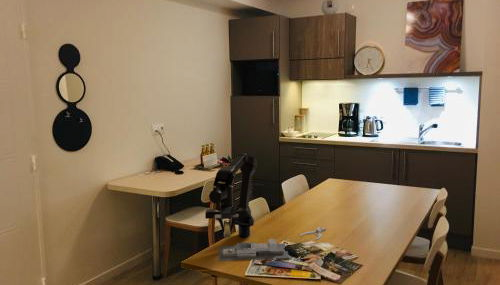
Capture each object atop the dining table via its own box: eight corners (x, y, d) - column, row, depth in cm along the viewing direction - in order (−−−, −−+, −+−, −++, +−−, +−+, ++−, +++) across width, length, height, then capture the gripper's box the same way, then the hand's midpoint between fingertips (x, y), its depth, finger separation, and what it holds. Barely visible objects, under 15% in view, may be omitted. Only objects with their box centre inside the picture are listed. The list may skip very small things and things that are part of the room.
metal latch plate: (236, 246, 181) (236, 239, 181) (275, 244, 182) (274, 238, 181) (237, 253, 173) (236, 246, 173) (277, 252, 174) (276, 244, 174)
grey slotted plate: (223, 251, 181) (223, 246, 181) (281, 248, 182) (281, 244, 182) (223, 258, 173) (223, 253, 173) (284, 255, 174) (284, 251, 174)
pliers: (299, 233, 200) (314, 225, 211) (299, 236, 200) (314, 228, 211) (316, 237, 193) (331, 228, 205) (316, 240, 194) (331, 231, 205)
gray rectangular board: (219, 247, 187) (219, 246, 187) (284, 245, 188) (284, 243, 188) (218, 262, 171) (218, 260, 171) (289, 259, 173) (289, 257, 172)
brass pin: (223, 235, 184) (223, 220, 183) (230, 234, 185) (229, 219, 184) (224, 237, 181) (224, 222, 181) (231, 236, 182) (230, 221, 181)
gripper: (203, 203, 173) (205, 238, 175) (248, 201, 173) (248, 237, 175) (205, 196, 184) (206, 230, 186) (246, 195, 184) (247, 228, 186)
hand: (227, 231), depth 183 cm, fingers closed on brass pin, 3 cm apart
